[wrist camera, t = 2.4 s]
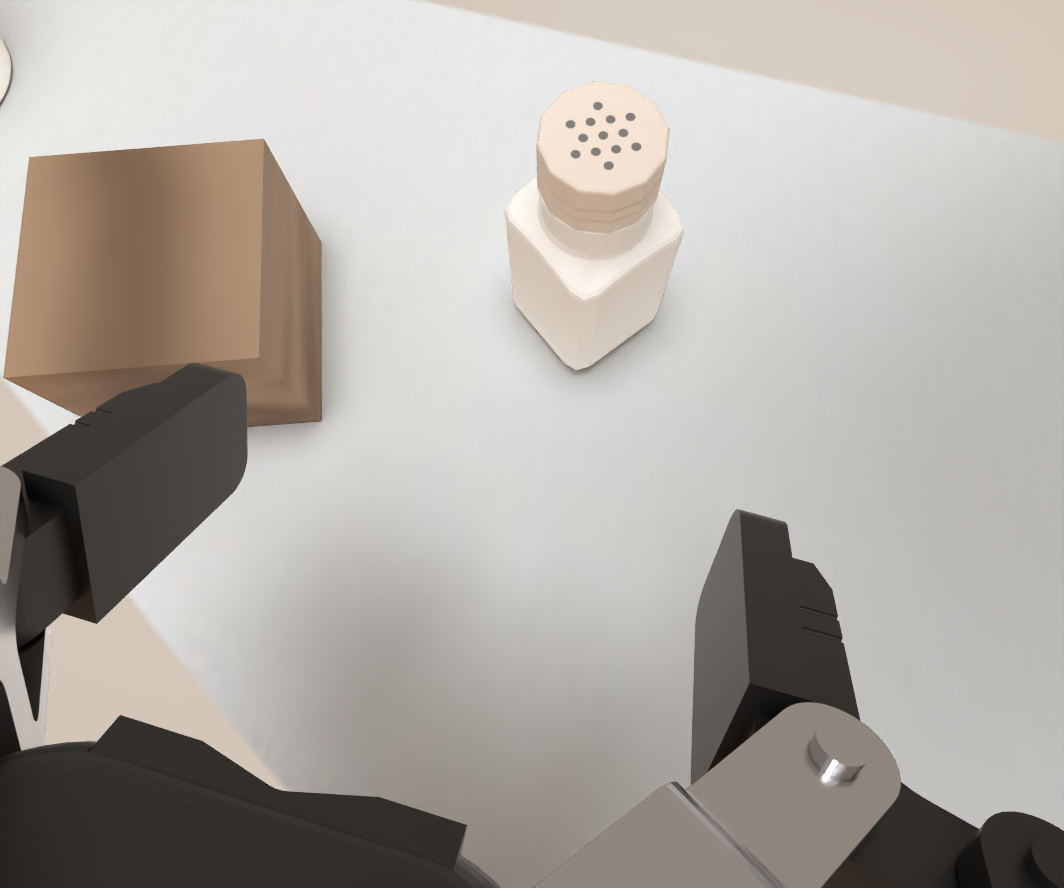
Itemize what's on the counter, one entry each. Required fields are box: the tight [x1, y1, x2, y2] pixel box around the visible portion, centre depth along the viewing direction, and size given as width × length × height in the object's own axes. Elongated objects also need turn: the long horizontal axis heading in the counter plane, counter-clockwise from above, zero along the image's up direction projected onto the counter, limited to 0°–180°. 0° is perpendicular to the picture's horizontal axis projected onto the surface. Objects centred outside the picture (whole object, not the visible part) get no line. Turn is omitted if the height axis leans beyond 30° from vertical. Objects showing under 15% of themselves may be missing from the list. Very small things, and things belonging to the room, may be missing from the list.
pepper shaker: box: [505, 81, 684, 371], centre depth 23 cm, size 4×4×10 cm
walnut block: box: [3, 139, 322, 427], centre depth 24 cm, size 7×7×6 cm
